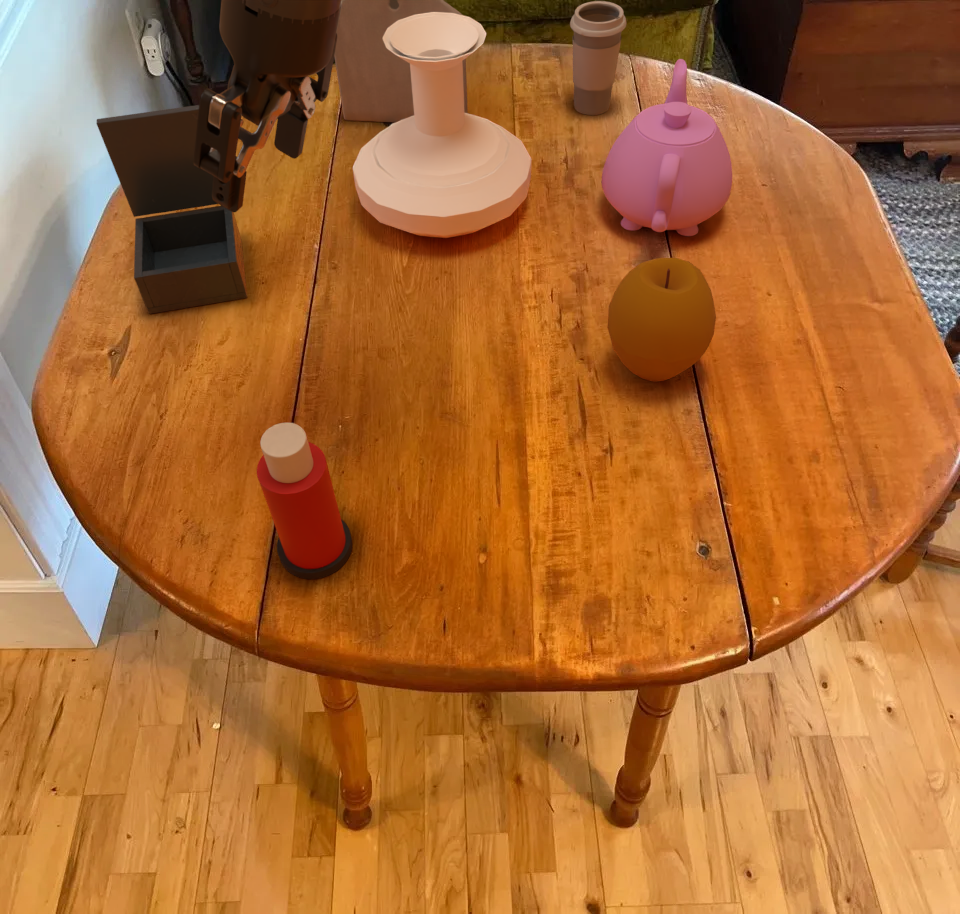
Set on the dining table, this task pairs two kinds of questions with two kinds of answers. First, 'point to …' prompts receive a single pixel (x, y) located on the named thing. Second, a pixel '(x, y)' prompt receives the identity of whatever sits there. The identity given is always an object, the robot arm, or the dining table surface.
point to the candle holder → (440, 141)
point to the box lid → (157, 160)
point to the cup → (595, 54)
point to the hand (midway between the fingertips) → (258, 177)
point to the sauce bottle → (300, 497)
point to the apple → (661, 318)
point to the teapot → (669, 165)
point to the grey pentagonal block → (377, 59)
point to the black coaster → (323, 570)
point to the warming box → (189, 259)
